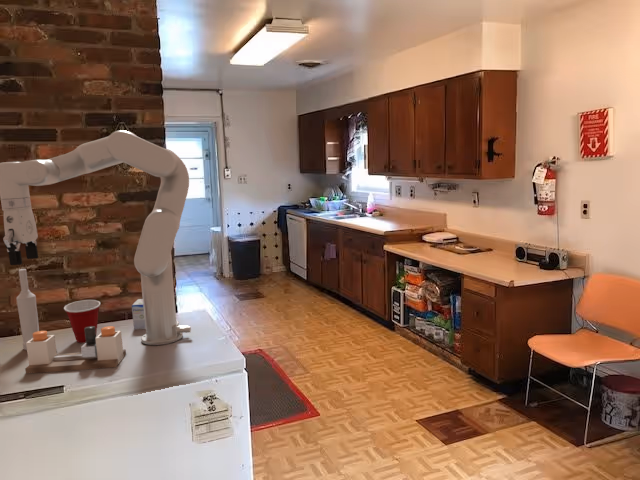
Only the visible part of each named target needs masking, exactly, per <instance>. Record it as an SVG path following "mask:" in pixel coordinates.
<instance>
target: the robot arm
mask: <svg viewBox="0 0 640 480" xmlns="http://www.w3.org/2000/svg"><path fill="white" fill-rule="evenodd" d="M122 163H124V164H126V165H128V166H131V167H133V168H135V169H138V170H140V171H142V172H144V173H147V174H149V175H151V176H153V177H156V178H160V185H159V189H158V191H157V195H156V200H155V203H154V206H153V209H152V211H151V212H150V213H149V214H148V216H146V218H145V220H144V223H143V226H142V229H141V233H140V237H139V240H138V243H137V247H136V251H135V254H134V258H133V264H134V267H135V269H136V270H137V272H138V273H139V274H140V281H141V294H142V295H141V296H142V299H143V307H144V317H145V327H146V329H145V334H143V335H142V336H141V342H142V344H144V345H147V346H148V345H149V346H160V345H167V344H171V343H175V342H177V341H179V340H181V339H183V333H184V334H188V333H189V334H190V333H191V332H192V327H191V325H190V326H189V325H188V324H186V325H181V324H180V321H178V320H177V313H176V301H175V290H174V278H173V259H172V250H173V246H174V243H175V239H176V237H177V233H178V231H179V229H180V225H181V224H180V223H181V219H182V215H183V211H184V208H185V204H186V201H187V196H188V193H189V186H190V176H189V175H190V174H189V171H188V168H187V166H186V164H185V163H184V162H183V160H182V159H181V158H180V157H179V156H178V155H177V154H176V153H175V152H174V151H172V150H170V149H167V148H164V147H162V146H159V145H158V144H155V143H153V142H150V141H148V140H146V139H144V138H141V137H139V136H137V134H135V133H133V132H131V131H127V130H123V129H122V130H121V129H120V130H119V129H118V130H116V131H113V132H112V133H111V134H110V135H108V136H105V137H102V138H98V139H95V140H92V141H89V142H88V141H87V142H85V143H82V144H79V145H78V146H77V147H76V148H75V149H73V150H72V151H69V152H67V153H64V154H61V155H58V156H54V157H51V158H47V159H32V160H31V159H30V160H26V161H6V162H4V161H3V162H0V203H1V210H2V211H3V227H4V237H3V238H2V239H3V242H4V244H5V245H4V246H5V248H6V251H7V253H8V260H9V265H10V266H20V265H23V257H22V253H21V250H20V247H21V243H22V244H25V245H24V247H25V254H26V259H27V260H30V259H33V260H34V259H35V260H36V259H38V258H39V254H38V247H37V245H38V242H37V239H38V238H39V235H38V228H37V223H36V218H35V216H34V212H33V209H32V201H31V195H30V188H29V186H34V187H35V186H36V187H41V186H48V185H53V184H56V183H59V182H63V181H66V180H69V179H73V178H77V177H79V176H82V175H85V174H91V173H93V172H97V171H100V170H104V169H106V168H109V167H113V166H116V165H119V164H122Z"/></svg>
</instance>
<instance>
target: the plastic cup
mask: <svg viewBox="0 0 640 480" xmlns="http://www.w3.org/2000/svg"><path fill="white" fill-rule="evenodd" d="M100 306H101V301H99V300H96V299H83V300H78V301H73V302H71V303H68V304H65V305H64V307H63V310H64V311H65V312H66V315H67V317H68V319H69V323H70V326H71V330H72V333H73V335H74V338H75V340H76V342H77V343H80V344H83V343H84V344H85V343H86V338H85V330H84V328H86V327H89V326H95V330H96V335H97V334H98V333H97V331H98V330H97V329H98V322H99V321H98V319H99V318H98V317H99V310H100Z"/></svg>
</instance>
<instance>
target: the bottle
mask: <svg viewBox="0 0 640 480" xmlns="http://www.w3.org/2000/svg"><path fill="white" fill-rule="evenodd" d="M18 276H19V282H20V290H21V291H19V294H18V295H17V296H16V305H17V311H18V315H19V316H18V317H19V324H20V330H21V335H22V342H23V343H22V348H23V350H24V351H27V346H26V343H27V342H28V341H29V340H31V339H32V338H33V333H34V332H37V331H40V327H39V317H38V316H39V315H38V309H37V308H38V307H37V296H36V294H34V293H33V292H31V290H30V289H29V282H28V272H27V269H26V268H21V269H18Z"/></svg>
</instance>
